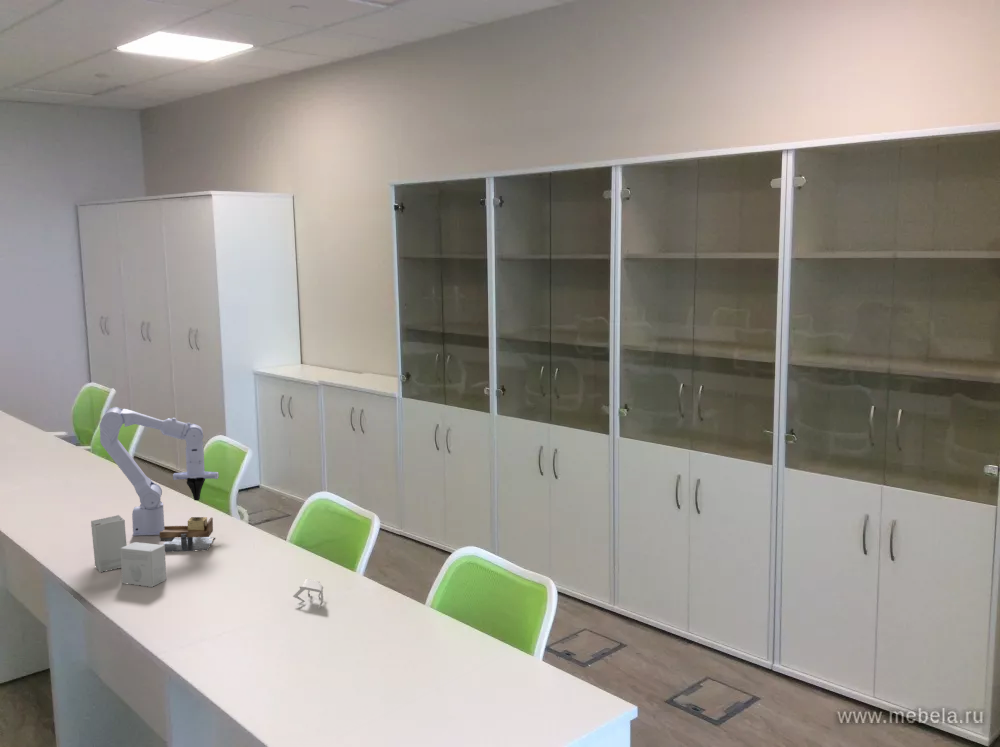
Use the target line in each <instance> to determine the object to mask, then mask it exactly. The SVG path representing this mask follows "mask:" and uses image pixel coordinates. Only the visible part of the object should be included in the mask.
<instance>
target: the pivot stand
mask: <svg viewBox="0 0 1000 747" xmlns="http://www.w3.org/2000/svg"><path fill="white" fill-rule="evenodd" d="M210 537H211V536H209V537H187V534H181V537H175V538H174V539H173V541H170V542H163V544H162V545H165V553H166V552H167V553H168V552H170V553H172V551H174V552H196V551H195V550H205V551H208V550H209V548H210V547H211V545H212V544H211V543H213V542H212V540H209V539H212V538H210ZM210 544H211V545H210ZM209 546H210V547H209ZM208 547H209V548H208ZM207 549H208V550H207Z"/></svg>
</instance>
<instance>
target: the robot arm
mask: <svg viewBox="0 0 1000 747" xmlns="http://www.w3.org/2000/svg"><path fill="white" fill-rule="evenodd" d="M123 425H124V427H125V428H127V427H130V426H133V425H138V426H142V427H147V428H151V429H155V430H159V431H160V432H161V434H162V435H163V436H167V437H170V438H174V439H177V440H181V441H182V440H184V441H185V444H186V447H185V462H186V464H185V466H186V471H185V472H174V473H173V474H172V481H176V480H187V481H186V485H187V486H188V488H189V489H190V491H191V494H192V496H193V500H194V501H199V500H200V498H201V492H202V489H203V486H204V484H205V482H206V480H207V479H208V480H211V479H214V480H217V479H219V477H220V476H219V472H218V471H207V470H206V471H205V451H204V446H203V445H204V441H203V439H204V430H203V428H202V426H201V425H198V424H197V423H192V422H189V421H188V422H183V421H179V420H177V418H176V417H172V418H166V419H164V420H162V419H161V418H160V419H159V418H158V417H157V418H156V417H154V416H149V415H148V414H143V413H140V412H138V411H134V410H131V409H127V408H122V407H121V408H120V407H118V406H113V407H110V408H108V409H107V410H106V412H105V413H104V414H103V416H102V418H101V420H100V423H99V438H100V439H99V441H100V445H101V446H102V447H103V449H104V450H105V451H106V452H107V454H108V455H109V456H110V458H111V459H112V460H113V462H114V463H115V464H116V465H117V467H118V468H119V469H120V471H121V472H122V473H123V474H124V475H125V477H126V478H127V479H128V480H129V482H130V483H131V485H132V486H133V487H134V491H135V493H136V495H137V496H138V498H139V502H140V505H139V506H134V508H132V514H131V515H132V517H131V518H132V536H160V531H163V530H164V526H165V514H164V512H165V510H164V502H163V501H162V500H161V499H162V498H161V497H162V494H163V489H162V487H161V486H160V485H159V484H157V483H155V482H154V481H153V480H152V479H151V478H150V477H149V476H147V475H146V474H145V473H144V471H143V470H142V469H141V467H140V466H139V464H138V463H137V462H136V461H135V459H134V458H133V457H132V456H131V454H130V453H129V451H128V450H127V449H126V448H125V446H124V444H122V443H121V441H120V440H119V433H120V431H121V428H122V426H123Z"/></svg>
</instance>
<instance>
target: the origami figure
mask: <svg viewBox="0 0 1000 747" xmlns="http://www.w3.org/2000/svg"><path fill="white" fill-rule="evenodd" d="M323 589H324V586H323V585H322V584H321V583H320V580H319V581H318V580H314V579H310V578H305V580H304V582H303V583H302V585H299V590H297V591H296V592H295V593H294V595H292V597H293V598H295V599H297V600H299V601H301V602H299V603H298V605H300V606H301V604H304V602H306V601H305V600H304V599H303V598H301V597H300V595H301V594H302V593H303V592H304V591H307V596H310V595H311V594H310V592H316V593H318V596H317V597H318V598H319V599H320V604H319V606H318V607H317V609H318V610H320V609H321V607H322V606H323V603H324V593H323V592H324V590H323ZM319 608H320V609H319Z"/></svg>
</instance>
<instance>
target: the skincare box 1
mask: <svg viewBox="0 0 1000 747" xmlns="http://www.w3.org/2000/svg"><path fill="white" fill-rule="evenodd" d="M90 524H91V525H90V526H91V527H90V528H91V537H92V545H93V558H94V566H96V567H95V568H96V569H97V571H98V570H99V571H100V572H102V573H104V572H103V571H105V572H107V571H106V570H109V571H112V570H111V569H114V570H118V569H121V553H120V548H122V547H124V546H127V545H128V544H127V534H126V532H127V531H126V522H125V519H124V518H123V517H121V515H119V514H117V515H113V516H108V517H103V518H99V519H95V520H91V521H90ZM117 568H118V569H117ZM99 571H98V572H99ZM100 572H99V573H100Z"/></svg>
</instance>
